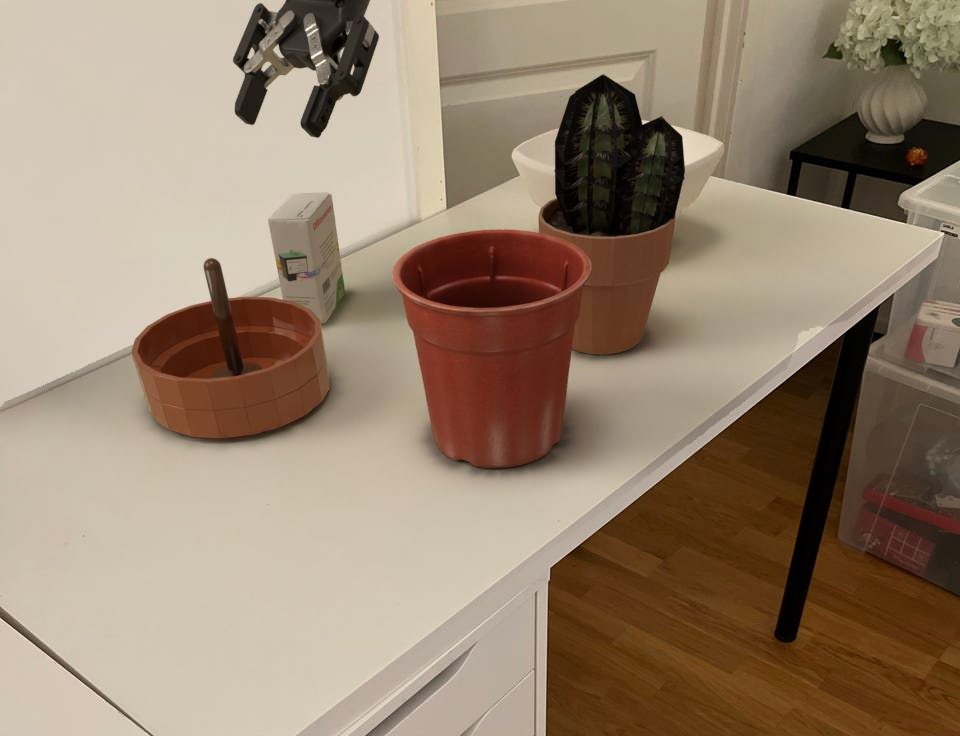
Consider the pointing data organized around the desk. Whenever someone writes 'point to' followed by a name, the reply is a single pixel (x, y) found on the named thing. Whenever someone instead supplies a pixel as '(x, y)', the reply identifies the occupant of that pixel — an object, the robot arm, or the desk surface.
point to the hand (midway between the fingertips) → (275, 126)
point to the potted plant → (614, 209)
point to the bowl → (698, 148)
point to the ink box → (308, 252)
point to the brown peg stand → (225, 324)
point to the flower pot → (494, 339)
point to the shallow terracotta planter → (198, 353)
